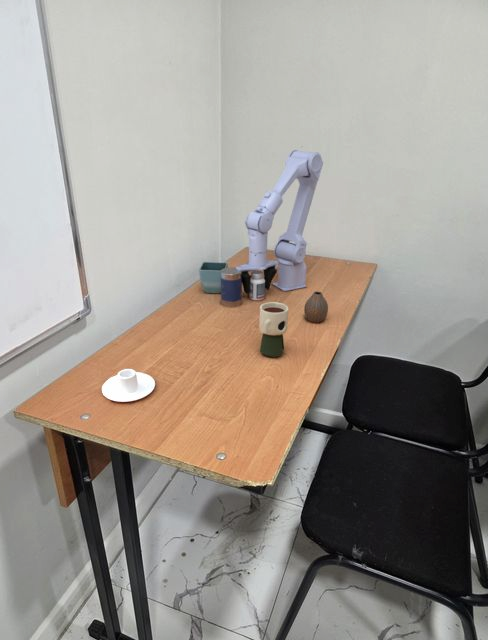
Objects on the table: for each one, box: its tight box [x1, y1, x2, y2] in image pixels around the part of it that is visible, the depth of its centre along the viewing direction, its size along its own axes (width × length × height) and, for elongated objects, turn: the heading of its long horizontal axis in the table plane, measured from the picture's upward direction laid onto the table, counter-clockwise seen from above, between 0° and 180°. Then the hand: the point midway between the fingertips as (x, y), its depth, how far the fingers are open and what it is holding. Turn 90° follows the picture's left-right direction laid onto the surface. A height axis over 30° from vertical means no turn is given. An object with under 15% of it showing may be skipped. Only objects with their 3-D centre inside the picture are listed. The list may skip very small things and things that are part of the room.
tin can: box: [220, 266, 243, 308], centre depth 143 cm, size 7×7×11 cm
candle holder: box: [101, 368, 156, 403], centre depth 101 cm, size 12×12×4 cm
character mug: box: [258, 301, 289, 358], centre depth 114 cm, size 11×7×13 cm, turn 154°
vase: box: [303, 290, 329, 324], centre depth 132 cm, size 7×7×9 cm
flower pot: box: [198, 261, 229, 294], centre depth 152 cm, size 9×9×9 cm
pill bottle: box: [248, 270, 266, 301], centre depth 147 cm, size 5×5×9 cm
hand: (256, 290), depth 148 cm, fingers open, 7 cm apart
